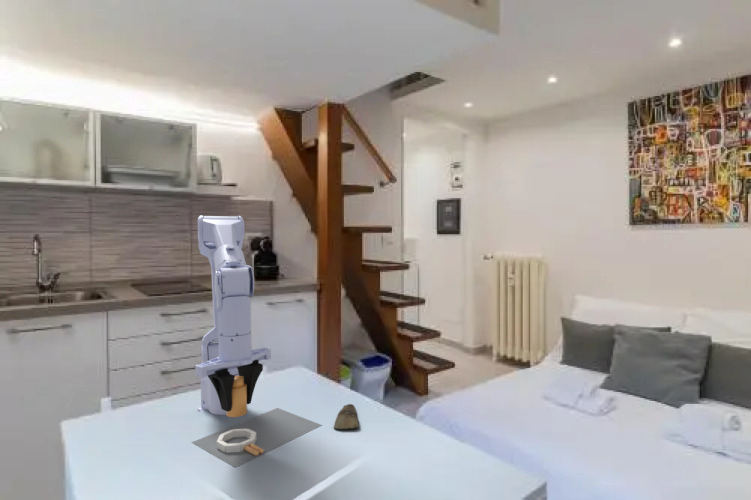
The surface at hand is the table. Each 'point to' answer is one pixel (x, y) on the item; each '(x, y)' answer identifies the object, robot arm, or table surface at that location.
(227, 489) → the table surface
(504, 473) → the table surface
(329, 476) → the table surface
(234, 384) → the stepped orange capsule
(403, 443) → the table surface
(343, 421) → the stone
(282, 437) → the mat
